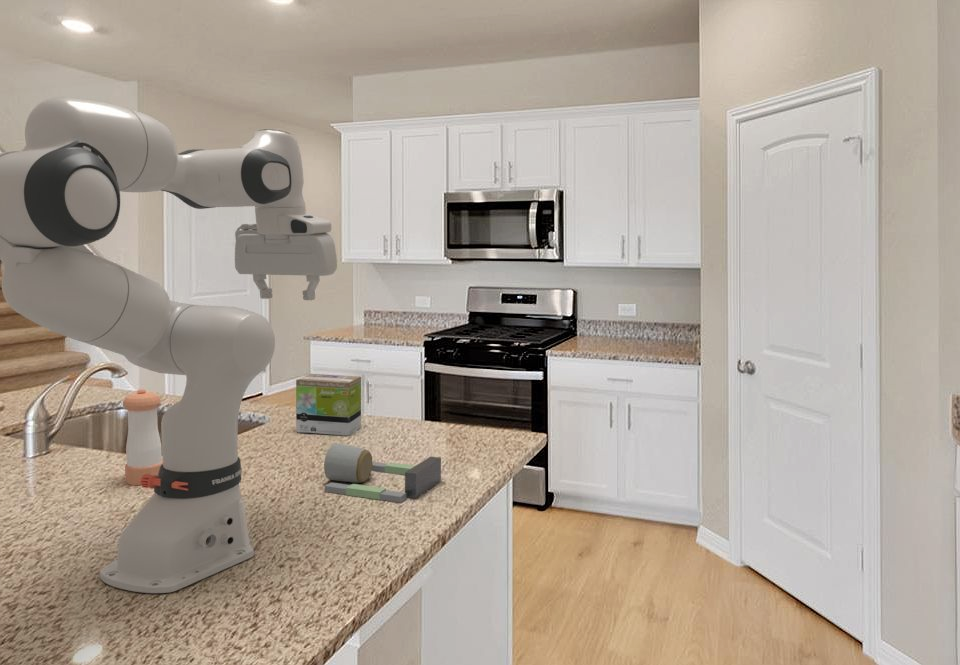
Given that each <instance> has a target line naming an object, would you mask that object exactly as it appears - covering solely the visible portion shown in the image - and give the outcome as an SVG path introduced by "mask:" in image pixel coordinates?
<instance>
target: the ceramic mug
mask: <svg viewBox="0 0 960 665" xmlns="http://www.w3.org/2000/svg"><path fill="white" fill-rule="evenodd" d="M324 457H325V458H324V463H323V465H324V466H323V472H324V476H325V478H326V479H327V480H329V481H335V482H345V483H352V484H361V483H364V482H366V481H367V480H368V479H369V478H370V475H371V473H372V470H371V469H372V462H373V456H372V453H371V452H370V451H369V450H368V449H366V448H363V447H357V446H353V445H348V444H344V443H338V442H337V443H336V442H335V443H333V444H331V445H330V446H329V447H328V449H327V451H326V455H325V456H324Z"/></svg>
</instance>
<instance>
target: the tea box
mask: <svg viewBox="0 0 960 665" xmlns="http://www.w3.org/2000/svg"><path fill="white" fill-rule="evenodd" d="M295 384H296V385H295V386H296V387H295V397H296V398H295V403H296V404H295V405H296V406H295V413H296V414H295V415H296V416H295V419H296V420H295V421H296V433H297V432H298V433H307V434H308V433H309V434H319V435H320V434H322V435H333V436H341V437H342V436H343V437H349V436H351V435H352V434H353V433H355V432H357V431H358V430H359V429H361V427H362V376H361V375H360V376H359V375H358V376H357V375H339V374H325V373H324V374H322V373H321V374H320V373H309V374H307V375H305V376H303V377H300V378H298V379H295Z"/></svg>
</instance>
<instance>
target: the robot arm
mask: <svg viewBox="0 0 960 665" xmlns="http://www.w3.org/2000/svg"><path fill="white" fill-rule="evenodd" d="M24 138H25V146H24V147H23V149H21V151H20V150H17V151H16V150H15V151H3V152H0V262H2V264H3V272H2V277H1V292H2V295H3V298H4V300H5V301H6V304H7V305H8V306H9V307H10V308H11V309H12V310H13V311H15V312H16V313H17V314H19V315H21V316H23V317H24V318H26V319H28V320H29V321H31V322H33V323H35V324H37V325H39V327H42V328H44V329H47V330H49V331H51V332H53V333H56V334H59V335H61V336H63V337H66V338H69V339H73V340H74V341H77V342H80V343H84V344H88V345H91V346H93V347H97V348H100V349H102V350H107V351H109V352H113V353H116V354H119V355H122V356H123V357H124V358H125V360H127V361H128V362H129V363H131V364H133V365H134V366H137V367H139V368H142V369H146V370H148V371H152V372H155V373H159V374H166V375H177V376H185V377H186V382H185V388H184V392H183V395H182V397H181V399H180V400H179V401H177V402H176V403H174V404H173V405H171V406H170V407H169V408H168V409H166V410H165V412H164V413H163V415H162V418H161V422H160V424H161V425H160V426H161V430H160V431H161V453H162V461H163V464H162V465H161V466H160V469H159V472H158V476H156V475H153V476H152V475H149V474H144V475H143V476H142V478H141V479H140V481H141V482H140V483H142V484H140V485H139V486H141V487H142V488H145V489H147V488H149V489H153V492H154V493H153V495H152V496H151V497H150V498H149V499H148V501H147V502H146V503H145V504H144V506H143V507H142V508H141V509H140V510H139V511H138V513H137V514H135V517H133V518H132V520H131V521H130V522H129V523H128V525H126V527H125V528H124V529H123V530H122V532H121V533H120V536H119V541H118V548H117V559H115V560H114V561H112V562H110V563H109V564H107V565H106V566H104V567H103V568H101V569H100V570H99V571H100V572H99V578H100V580H101V581H102V582H104V583H105V584H106V585H108V586H111V587H113V588H117V589H121V590H125V591H129V592H130V591H131V592H137V593H145V594H165V593H173V592H176V591H179V590H181V589H183V588H185V587H188V586H190V585H192V584H194V583H197V582H199V581H202V580H203V579H206V578H208V577H211V576H213V575H215V574H217V573H219V572H221V571H224V570H226V569H228V568H230V567H233V566H235V565H237V564H239V563H241V562H244V561H246V560H248V559H251V558H253V557H254V556H255V550H254V547H253V546H252V545H251V544H252V540H251V538H250V534H249V530H248V521H247V514H246V507H245V501H244V499H243V497H242V493H241V489H240V483H241V481H242V472H243V468H242V462H241V458H240V457H239V453H238V451H239V449H238V448H239V446H238V443H239V442H238V440H239V439H238V437H239V436H238V432H239V428H238V427H239V413H240V407H241V403H242V401H243V398H244V395H245V393H246V391H247V389H248V387H249V385H250V384H251V383H252V381H253V380H254V379H255V378H256V377H257V376H259V374H261V373H262V372H263V371H264V370H265V369H266V368H267V367H268V366H269V364H270V363H271V360H272V359H273V356H274V353H275V347H276V339H275V338H276V337H275V333H274V330H273V328H272V326H271V324H270V321H268V319H267V318H266V317H265V316H264V315H262V314H260V313H258V312H254V311H252V310H248V309H244V308H240V307H237V306H226V305H225V306H223V305H205V304H204V305H201V304H200V305H199V304H191V303H183V302H179V301H174V300H171V299H170V297H169V294H168V292H167V290H166V289H165V288H164V286H162V285H161V284H160V283H158V282H157V281H154V280H152V279H150V278H147V277H146V276H144V275H142V274H139V273H138V272H135V271H133V270H130V269H128V268H126V267H124V266H121V265H120V264H118V263H116V262H113V261H111V260H108V259H106V258H104V257H101V256H98V255H96V254H95V253H94V252H93V251H91V250H90V249H89V248H87V247H86V246H85V245H88V244H92V243H95V242H98V241H100V240H101V239H104V238H105V237H107V236H108V235H109V234H110V233H112V231H113V230H114V228H115V226H116V225H117V222H118V219H119V215H120V211H121V192H122V193H150V192H151V193H152V192H158V191H161V192H166V193H169V194H171V195H173V196H175V197H176V198H178V199H179V200H180V201H182V202H183V203H184V204H186V205H187V206H189V207H191V208H194V209H196V210H197V209H198V210H205V209H213V208H214V209H215V208H238V207H239V208H241V207H242V208H243V207H254V211H255V223H253V224H248V223H243V224H241V225H240V226H239V227H237V229H236V230H235V233H234V237H235V245H234V246H235V247H234V267H235V268H234V269H235V270H236V271H237V272H238V274H240V275H252V279H253V283H254V284H255V285H256V287H257V289H258V290H259V297H260V299H263V300H267V299H268V300H269V299H272V298H273V293H272V292H273V288H269V287H268V285H267V282H266V279H267V275H268V276H273V275H274V276H306V282H308V285H307V287H306V289H304V290H302V295H303V296H302V299H303V300H304V301H314V300H315V299H316V289H317V287H318V285H319V282H320V280H321V279H320V277H326V276H327V277H328V276H332V275H334V274H335V272H336V271H337V269H338V259H337V258H338V256H337V252H336V251H337V248H336V244H335V240H334V238H333V237H332V235H331V234H329V233H330V232H331V231H332V223H331V221H330V220H328V219H325V218H322V217H320V216H317V215H314V214H312V213H309V212H307V209H306V208H307V207H306V203H305V200H304V196H303V188H304V171H303V170H304V169H303V161H302V155H301V150H300V146H299V142H298V141H297V139H296V137H295V136H294V135H293V134H291V133H289V132H287V131H284V130H277V129H270V128H269V129H265V128H264V129H259V130H255V131H254V132H253V134H252V137H251V139H250V140H249V141H248V142H247V143H245V144H243V145H241V146H239V147H236V148H235V147H234V148H218V149H217V148H215V149H199V148H197V149H195V148H193V149H192V148H191V149H187V150H184V151H180V152H179V153H178V147H177V144H176V141H175V138H174V137H173V134H172V133H171V130H169V127H167V125H165V124H164V123H163V122H161V121H159V120H157V119H156V118H154V117H152V116H150V115H148V114H146V113H143V112H141V111H138V110H135V109H131V108H128V107H124V106H121V105H118V104H115V103H114V104H113V103H109V102H104V101H101V100H100V101H99V100H93V99H86V98H78V97H64V96H63V97H59V96H58V97H51V98H48V99H45V100H42V101H41V102H40V103H38V104H37V105H36V106H34V107H33V108H32V110H31V111H30V113H29V115H28V118H27V120H26V123H25V127H24Z"/></svg>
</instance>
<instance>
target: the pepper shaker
mask: <svg viewBox="0 0 960 665" xmlns="http://www.w3.org/2000/svg"><path fill="white" fill-rule="evenodd" d="M161 403H162V400H161V398H160V397H159V395H158V394H157V393H154V392H150V391H147V390H146V389H144V388H139V389H138V390H137V392H133V393H130V394H128V395H126V397H125V398H124V399H123V402H122V405H123V407H124V409H125V410H126V411H127V427H128V428H127V430H128V431H127V438H126V446H125V453H126V454H125V455H126V463H125V465H124V472H125V473H124V475H125V478H124V479H125V484H128V485H130V486H141V485H140V484H142V483H140V482H141V481H140V479H141V478H142V476H143V475H144V474H149V475H152V476H153V475H156V476H158V472H159V469H160V466H161V465H162V464H163V457H162V440H161V438H160V432H159V426H158V425H159V424H158V423H159V421H158V408H159V407H160V405H161Z"/></svg>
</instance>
